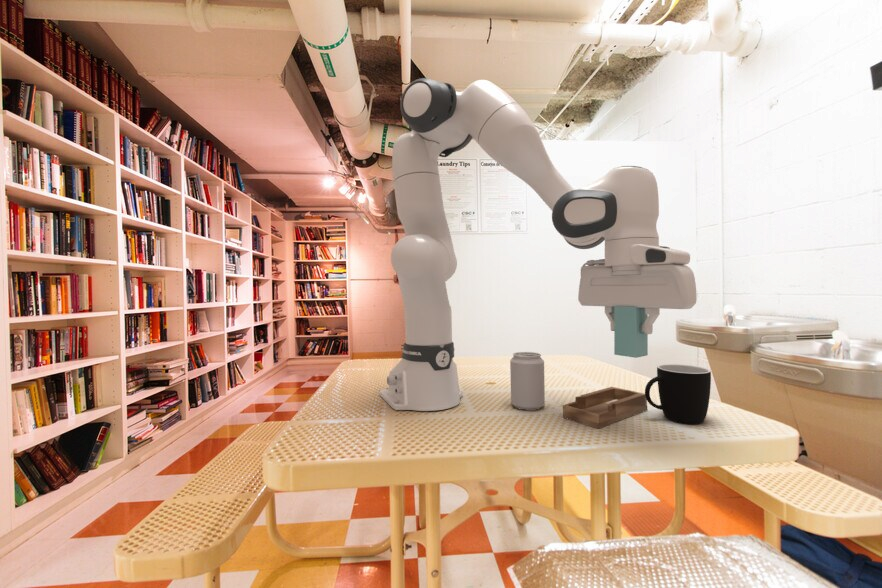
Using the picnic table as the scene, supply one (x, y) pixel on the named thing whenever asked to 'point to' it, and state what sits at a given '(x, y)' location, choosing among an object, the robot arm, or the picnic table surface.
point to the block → (629, 332)
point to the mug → (682, 392)
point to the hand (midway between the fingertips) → (630, 332)
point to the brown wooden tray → (605, 406)
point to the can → (527, 380)
